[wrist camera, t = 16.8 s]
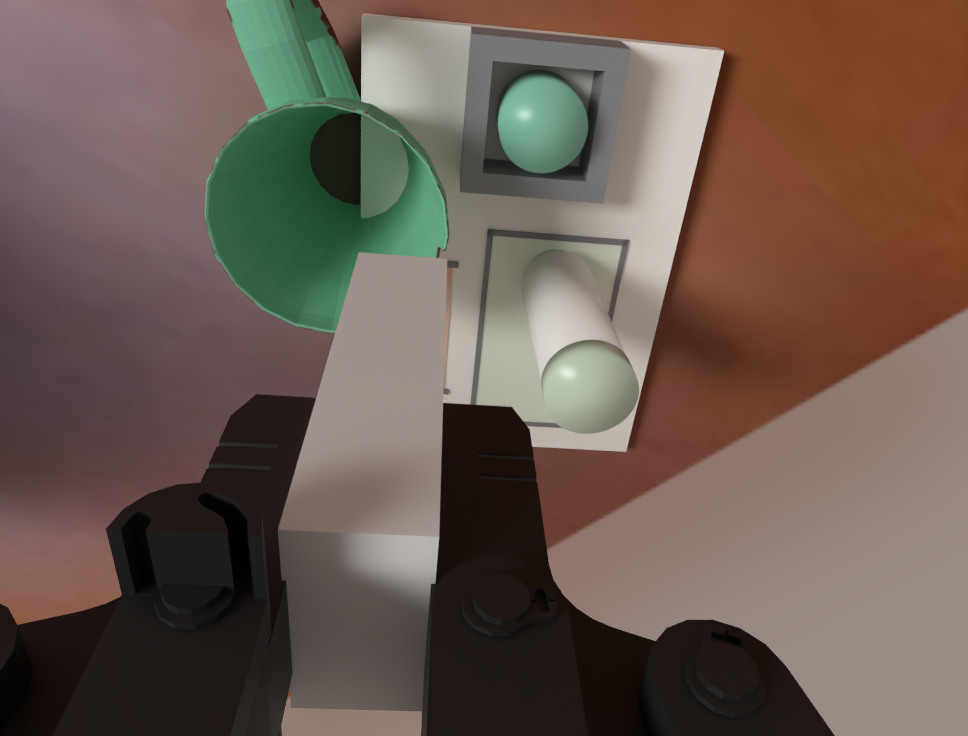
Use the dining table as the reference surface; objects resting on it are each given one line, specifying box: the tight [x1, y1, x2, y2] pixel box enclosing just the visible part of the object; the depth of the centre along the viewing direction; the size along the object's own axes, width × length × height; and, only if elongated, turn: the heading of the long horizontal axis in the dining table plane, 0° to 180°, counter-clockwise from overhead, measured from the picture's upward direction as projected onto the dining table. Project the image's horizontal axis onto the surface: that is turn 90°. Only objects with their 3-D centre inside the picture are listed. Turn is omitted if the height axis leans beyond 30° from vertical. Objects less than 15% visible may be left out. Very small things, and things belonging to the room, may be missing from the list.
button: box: [496, 70, 588, 173], centre depth 34 cm, size 4×4×3 cm
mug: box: [204, 0, 450, 333], centre depth 33 cm, size 15×10×10 cm
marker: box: [521, 249, 639, 434], centre depth 35 cm, size 4×4×12 cm
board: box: [361, 13, 724, 452], centre depth 40 cm, size 17×24×4 cm
